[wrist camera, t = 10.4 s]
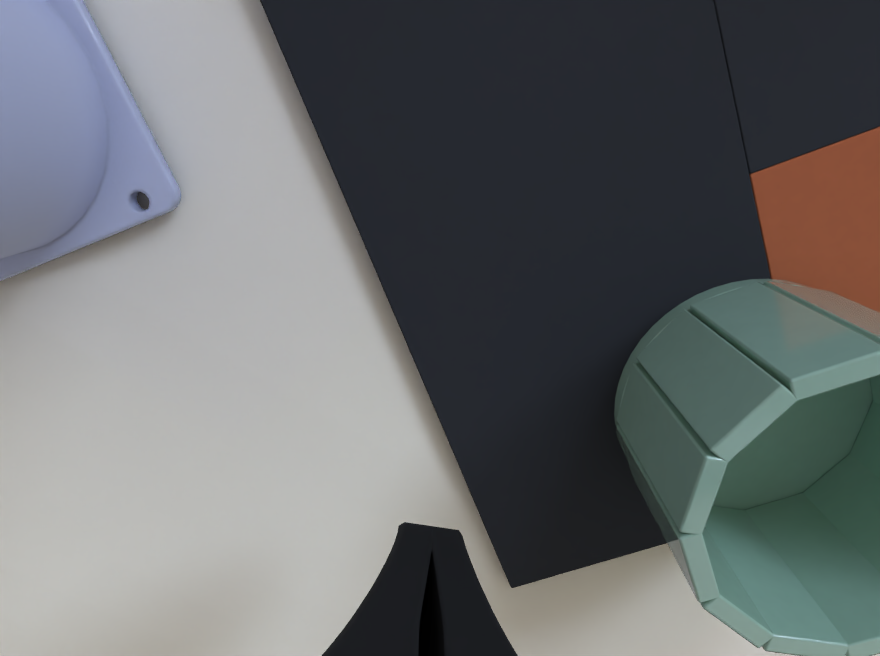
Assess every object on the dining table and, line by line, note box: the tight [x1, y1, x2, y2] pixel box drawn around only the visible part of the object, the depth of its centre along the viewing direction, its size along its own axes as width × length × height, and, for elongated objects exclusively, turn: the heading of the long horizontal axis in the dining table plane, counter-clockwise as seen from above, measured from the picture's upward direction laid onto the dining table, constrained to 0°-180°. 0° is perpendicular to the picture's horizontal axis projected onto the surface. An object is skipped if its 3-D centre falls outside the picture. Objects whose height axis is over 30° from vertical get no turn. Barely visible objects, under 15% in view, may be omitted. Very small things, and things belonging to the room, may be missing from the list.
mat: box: [260, 0, 880, 588], centre depth 15 cm, size 20×24×1 cm
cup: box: [614, 279, 880, 656], centre depth 15 cm, size 7×7×6 cm
